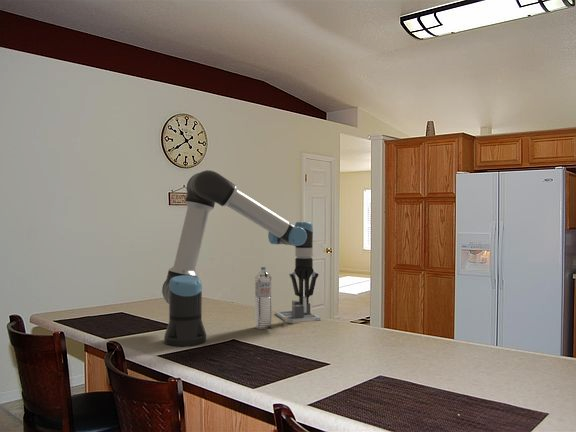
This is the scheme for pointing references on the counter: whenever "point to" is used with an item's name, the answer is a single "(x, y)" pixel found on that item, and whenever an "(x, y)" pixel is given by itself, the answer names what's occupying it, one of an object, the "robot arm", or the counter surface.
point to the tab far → (295, 302)
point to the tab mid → (307, 309)
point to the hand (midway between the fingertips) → (303, 312)
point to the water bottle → (263, 300)
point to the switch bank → (288, 318)
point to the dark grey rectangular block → (297, 311)
